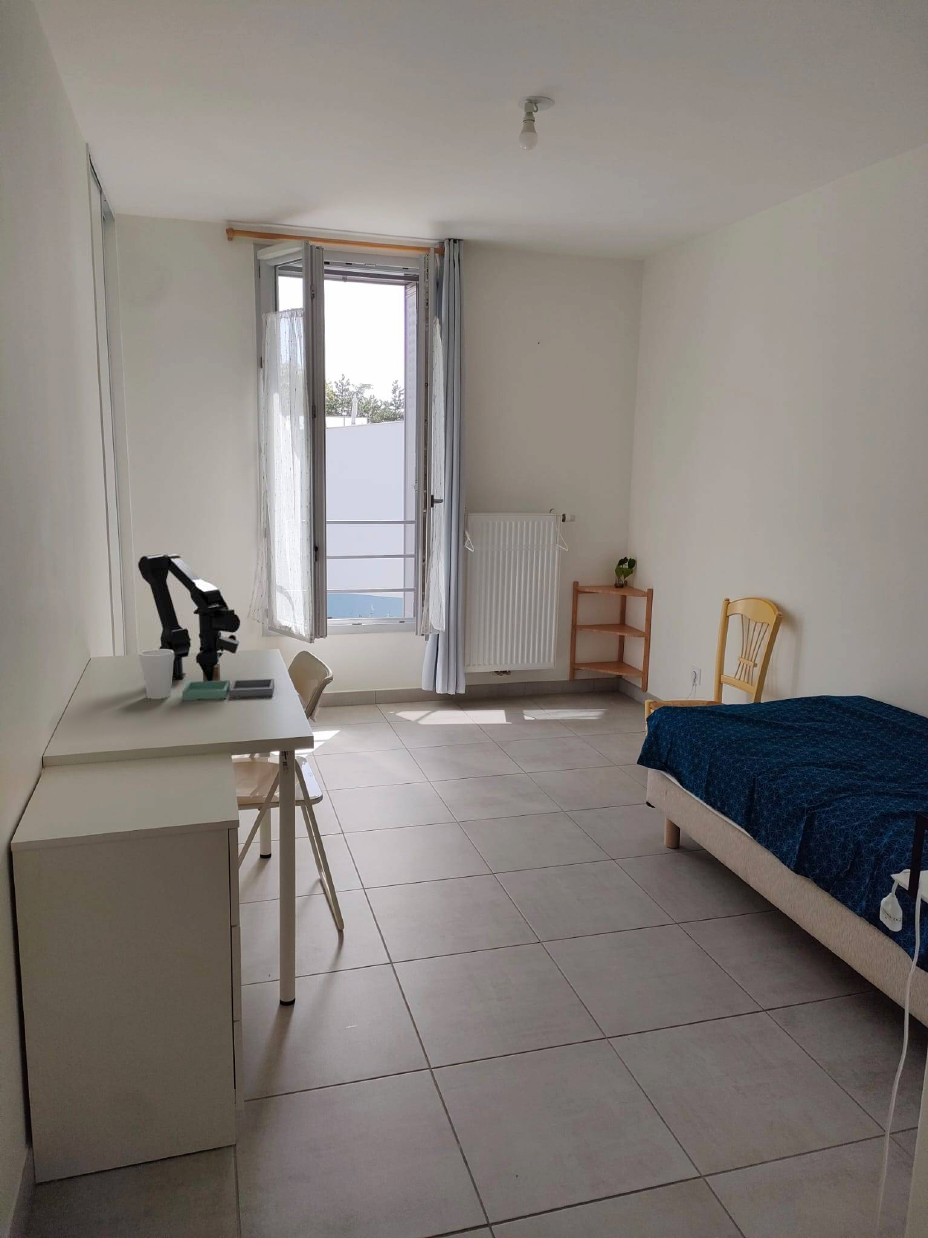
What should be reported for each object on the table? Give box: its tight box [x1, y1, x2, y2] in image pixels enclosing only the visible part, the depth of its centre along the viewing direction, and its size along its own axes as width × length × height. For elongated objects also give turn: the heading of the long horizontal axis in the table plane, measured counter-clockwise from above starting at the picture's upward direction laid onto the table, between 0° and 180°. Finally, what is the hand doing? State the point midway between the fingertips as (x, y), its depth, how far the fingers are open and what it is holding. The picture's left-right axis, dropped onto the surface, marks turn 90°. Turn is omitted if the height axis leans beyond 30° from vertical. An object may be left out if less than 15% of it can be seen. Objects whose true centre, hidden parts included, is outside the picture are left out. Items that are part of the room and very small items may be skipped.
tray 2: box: [229, 678, 275, 699], centre depth 259 cm, size 12×12×2 cm
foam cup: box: [138, 648, 174, 700], centre depth 254 cm, size 10×9×13 cm
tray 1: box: [182, 680, 231, 701], centre depth 257 cm, size 12×12×2 cm
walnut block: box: [202, 663, 221, 681], centre depth 268 cm, size 4×4×6 cm
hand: (211, 679), depth 268 cm, fingers open, 6 cm apart
